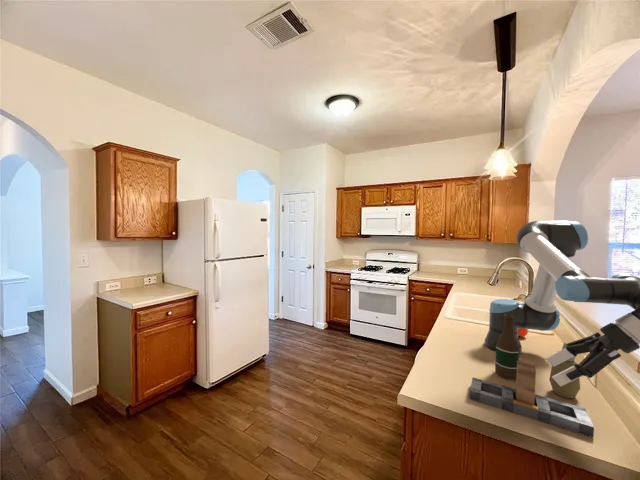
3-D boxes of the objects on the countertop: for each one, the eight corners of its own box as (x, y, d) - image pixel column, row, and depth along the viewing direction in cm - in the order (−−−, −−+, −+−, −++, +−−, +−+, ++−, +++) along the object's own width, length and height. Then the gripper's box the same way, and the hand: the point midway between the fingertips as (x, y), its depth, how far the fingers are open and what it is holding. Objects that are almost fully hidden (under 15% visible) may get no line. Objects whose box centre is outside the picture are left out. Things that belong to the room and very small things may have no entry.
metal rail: (469, 398, 92) (469, 389, 91) (472, 385, 100) (472, 376, 100) (593, 437, 75) (594, 426, 75) (584, 417, 83) (584, 407, 83)
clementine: (532, 339, 146) (533, 325, 145) (523, 340, 144) (523, 326, 143) (518, 333, 153) (518, 321, 153) (508, 334, 151) (509, 322, 151)
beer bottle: (511, 382, 102) (514, 319, 101) (490, 372, 109) (492, 313, 108) (522, 377, 106) (525, 316, 105) (501, 368, 113) (503, 311, 112)
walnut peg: (515, 401, 91) (517, 360, 90) (532, 406, 88) (534, 364, 88) (516, 409, 87) (517, 365, 86) (533, 414, 84) (535, 370, 84)
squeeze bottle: (542, 387, 99) (545, 338, 99) (563, 387, 100) (565, 338, 99) (564, 401, 91) (567, 348, 91) (586, 400, 92) (589, 348, 91)
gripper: (663, 364, 62) (572, 404, 71) (624, 331, 83) (557, 366, 92) (630, 336, 65) (546, 378, 74) (600, 311, 86) (538, 346, 94)
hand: (552, 371), depth 83 cm, fingers open, 13 cm apart
